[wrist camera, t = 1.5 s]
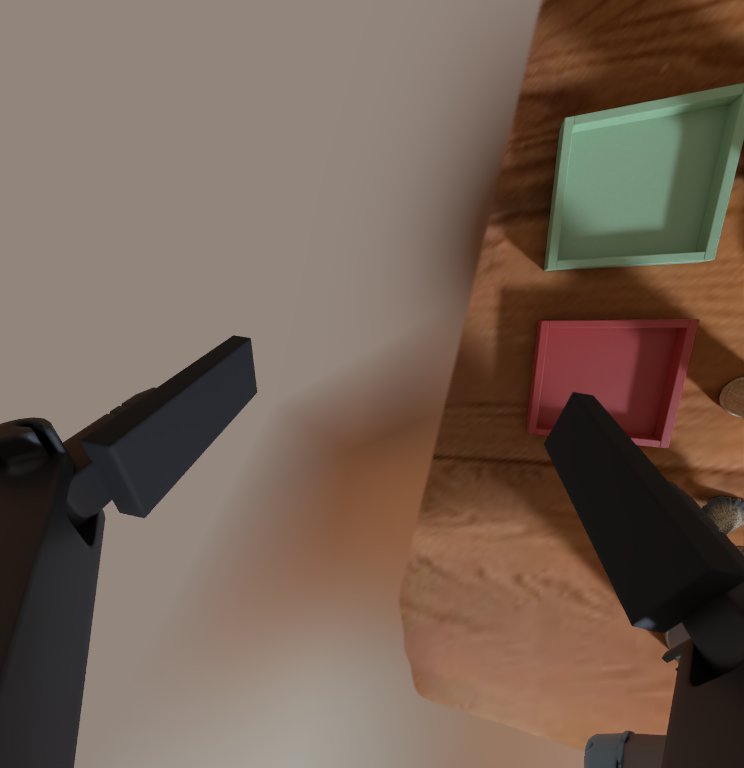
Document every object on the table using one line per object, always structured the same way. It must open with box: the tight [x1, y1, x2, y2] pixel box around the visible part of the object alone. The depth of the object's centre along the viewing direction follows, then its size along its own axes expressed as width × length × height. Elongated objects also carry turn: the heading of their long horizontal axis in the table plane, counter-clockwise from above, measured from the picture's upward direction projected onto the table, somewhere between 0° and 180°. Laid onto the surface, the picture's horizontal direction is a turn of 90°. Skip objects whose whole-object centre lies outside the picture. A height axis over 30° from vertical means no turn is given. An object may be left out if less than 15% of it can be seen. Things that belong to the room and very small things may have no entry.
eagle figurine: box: [702, 496, 744, 555], centre depth 32 cm, size 8×7×9 cm
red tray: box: [526, 319, 699, 448], centre depth 34 cm, size 14×14×2 cm
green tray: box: [544, 83, 744, 271], centre depth 29 cm, size 14×14×2 cm
